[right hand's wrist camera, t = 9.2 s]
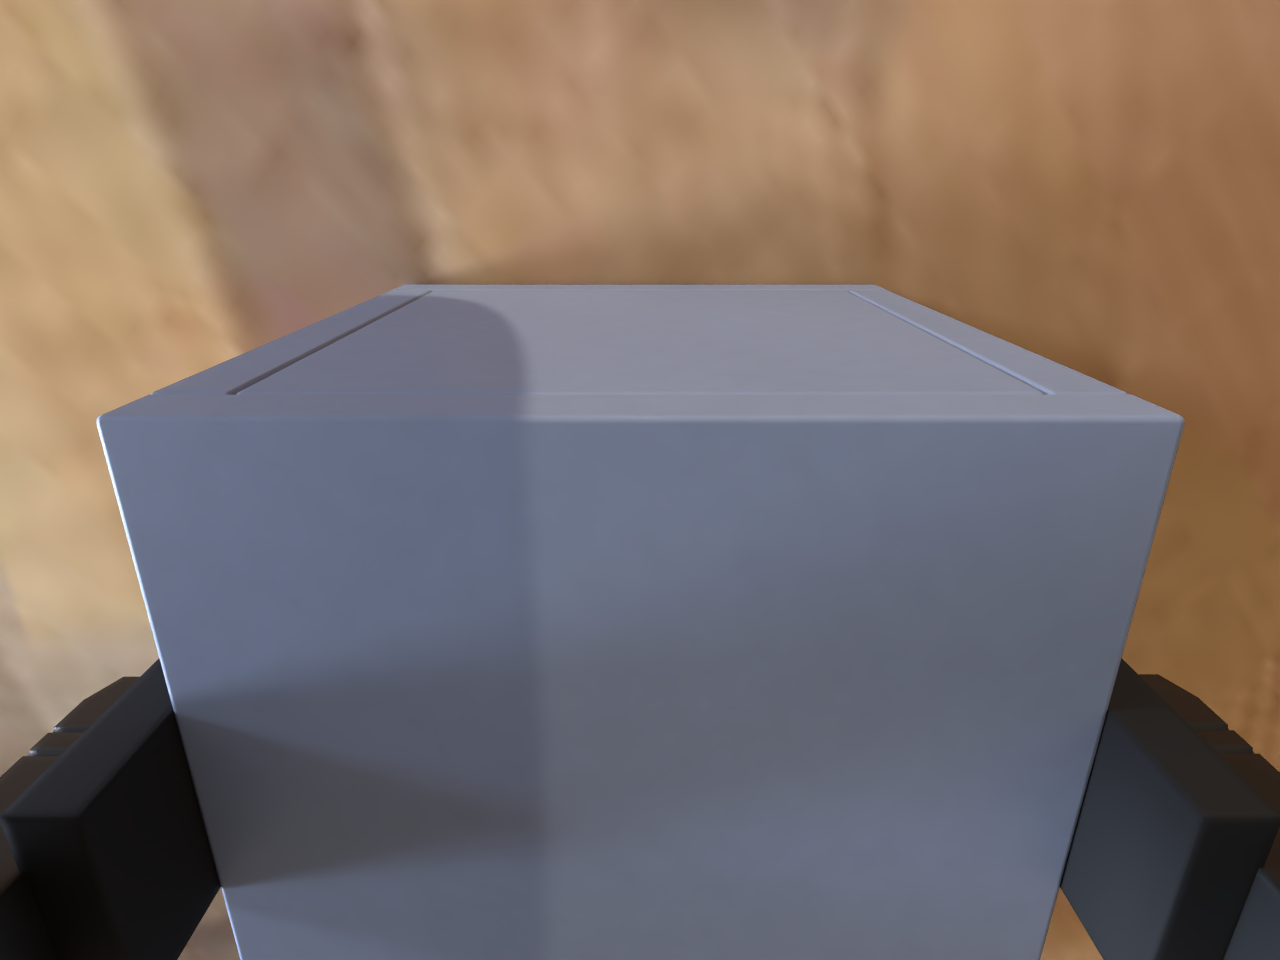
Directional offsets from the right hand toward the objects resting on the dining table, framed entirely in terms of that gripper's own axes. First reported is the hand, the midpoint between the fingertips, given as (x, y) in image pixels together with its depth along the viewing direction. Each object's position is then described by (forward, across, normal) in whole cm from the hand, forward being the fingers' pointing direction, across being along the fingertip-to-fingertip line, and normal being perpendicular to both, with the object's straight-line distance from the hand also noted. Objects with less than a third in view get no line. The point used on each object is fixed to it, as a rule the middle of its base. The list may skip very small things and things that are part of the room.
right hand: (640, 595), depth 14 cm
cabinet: (+5, 0, -5) cm, 7 cm away
